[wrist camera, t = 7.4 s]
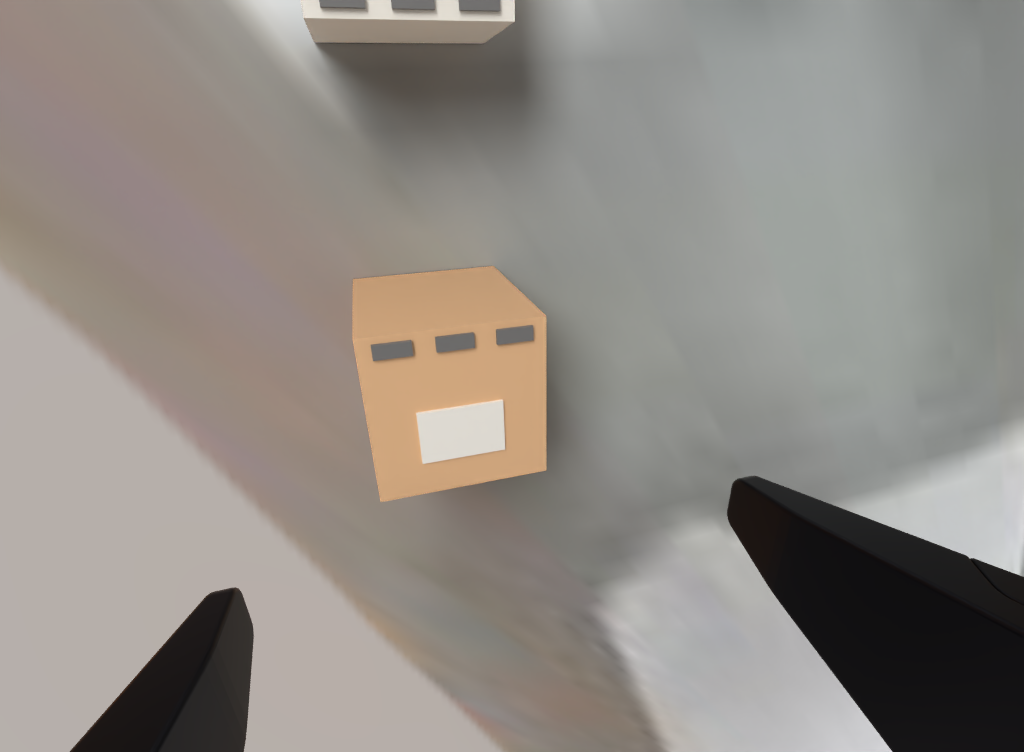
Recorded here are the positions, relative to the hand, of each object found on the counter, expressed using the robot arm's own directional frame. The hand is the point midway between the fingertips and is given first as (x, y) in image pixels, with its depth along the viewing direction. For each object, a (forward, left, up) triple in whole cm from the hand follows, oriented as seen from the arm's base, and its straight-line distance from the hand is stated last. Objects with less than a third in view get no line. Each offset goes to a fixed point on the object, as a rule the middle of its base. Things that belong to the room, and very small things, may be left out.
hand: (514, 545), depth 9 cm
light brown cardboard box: (0, 0, -12) cm, 12 cm away
